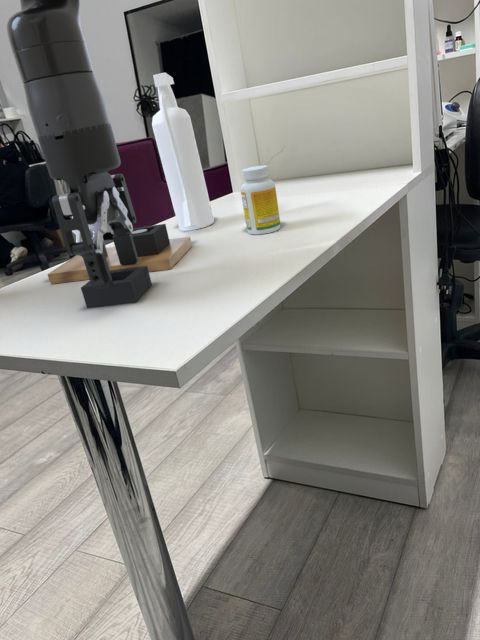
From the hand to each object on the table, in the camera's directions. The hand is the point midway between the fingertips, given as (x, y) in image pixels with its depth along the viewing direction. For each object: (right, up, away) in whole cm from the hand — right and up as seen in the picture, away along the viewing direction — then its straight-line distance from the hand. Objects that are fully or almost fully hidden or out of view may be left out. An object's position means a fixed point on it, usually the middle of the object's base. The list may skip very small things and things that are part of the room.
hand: (117, 275), depth 63 cm
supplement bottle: (+17, +10, +23) cm, 30 cm away
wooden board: (-4, +4, +18) cm, 18 cm away
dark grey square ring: (0, -3, +1) cm, 3 cm away
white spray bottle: (+5, +13, +34) cm, 37 cm away
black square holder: (0, +6, +16) cm, 17 cm away
